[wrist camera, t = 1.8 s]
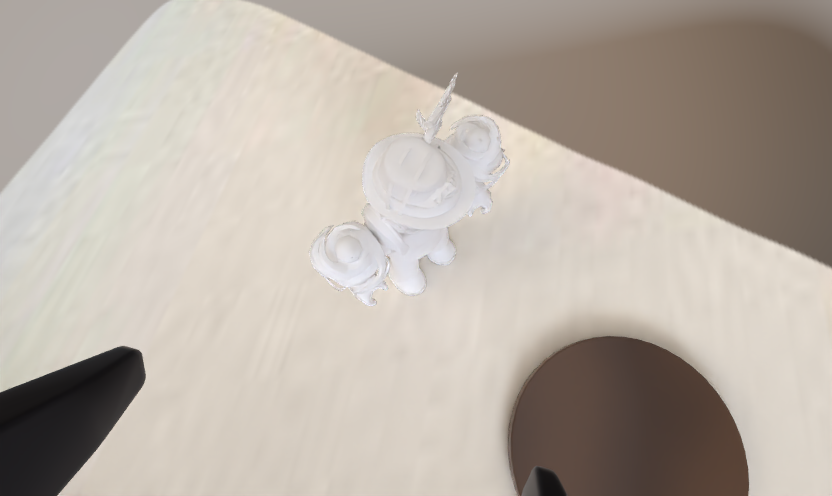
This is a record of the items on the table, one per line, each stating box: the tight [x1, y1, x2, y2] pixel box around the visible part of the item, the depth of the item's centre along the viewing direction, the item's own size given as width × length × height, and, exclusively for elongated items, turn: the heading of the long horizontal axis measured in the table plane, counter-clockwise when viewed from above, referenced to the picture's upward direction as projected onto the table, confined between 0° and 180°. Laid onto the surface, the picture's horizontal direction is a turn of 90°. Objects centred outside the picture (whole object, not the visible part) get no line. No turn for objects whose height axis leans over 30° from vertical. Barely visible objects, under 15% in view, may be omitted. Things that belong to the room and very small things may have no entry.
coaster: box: [508, 336, 749, 496], centre depth 21 cm, size 11×11×1 cm
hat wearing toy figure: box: [309, 72, 510, 306], centre depth 18 cm, size 9×4×12 cm, turn 132°
